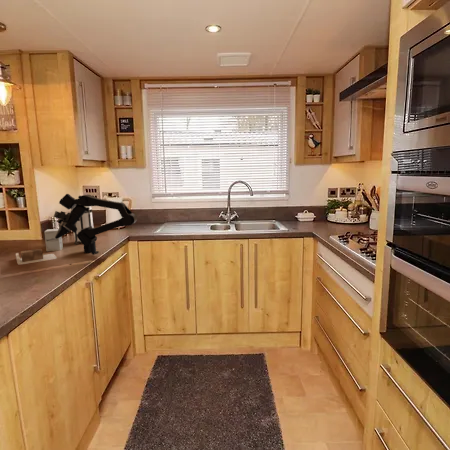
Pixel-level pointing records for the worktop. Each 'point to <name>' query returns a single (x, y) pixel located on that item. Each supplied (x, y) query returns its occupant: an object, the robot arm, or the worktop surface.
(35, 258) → the block
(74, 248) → the worktop surface
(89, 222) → the coffee press
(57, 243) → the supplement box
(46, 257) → the white shallow tray
